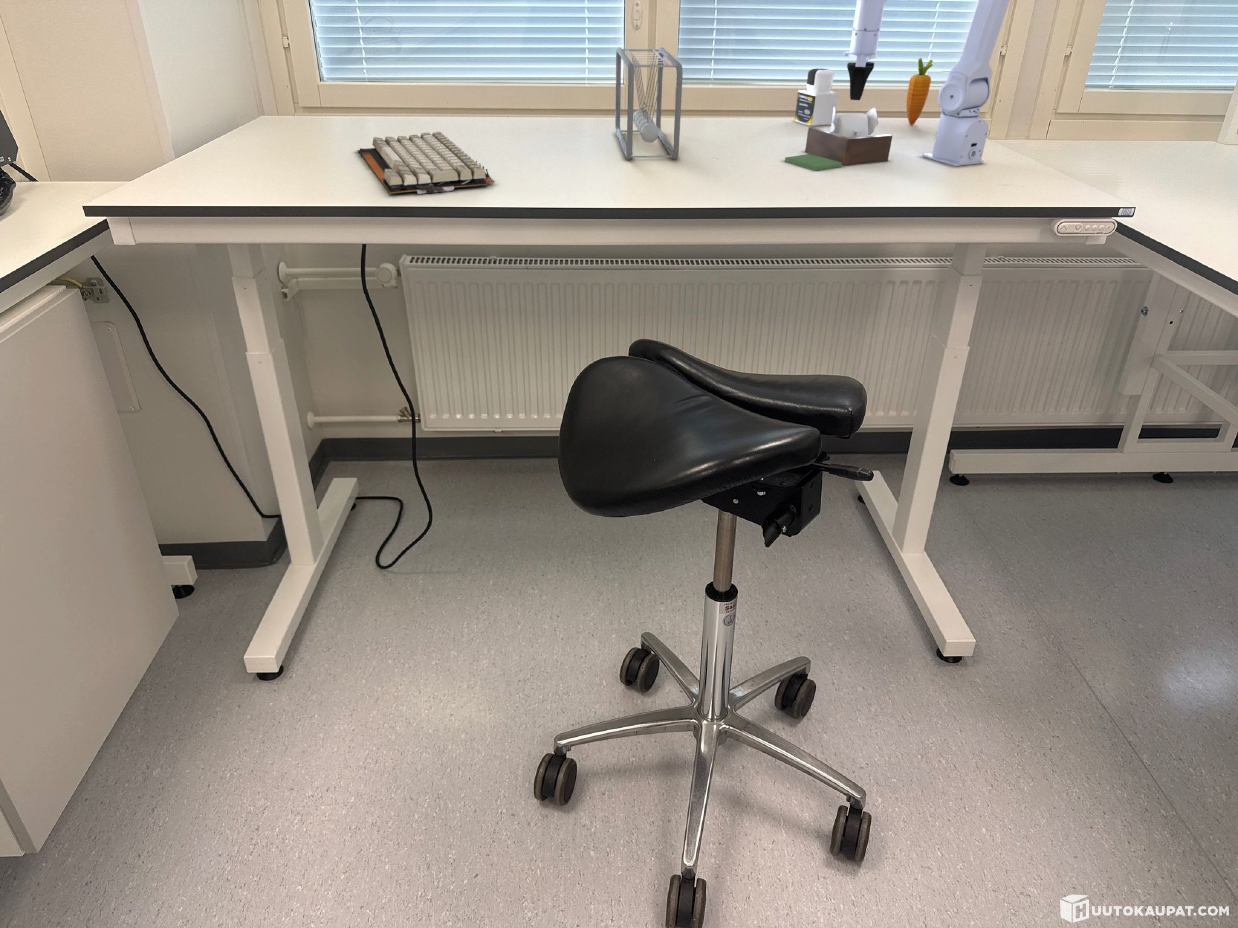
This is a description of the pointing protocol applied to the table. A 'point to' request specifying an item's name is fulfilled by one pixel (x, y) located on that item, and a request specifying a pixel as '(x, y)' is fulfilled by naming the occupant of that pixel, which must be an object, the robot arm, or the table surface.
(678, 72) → the newton's cradle
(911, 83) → the carrot
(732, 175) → the table surface
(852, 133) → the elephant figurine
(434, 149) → the mechanical keyboard
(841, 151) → the corner fence
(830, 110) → the medicine bottle
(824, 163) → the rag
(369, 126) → the table surface
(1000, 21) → the robot arm
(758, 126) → the table surface
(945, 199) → the table surface
